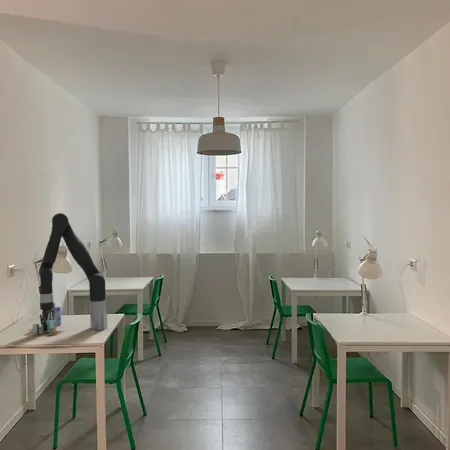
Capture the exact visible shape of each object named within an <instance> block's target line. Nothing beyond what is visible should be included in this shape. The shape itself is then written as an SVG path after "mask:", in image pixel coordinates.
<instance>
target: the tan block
mask: <svg viewBox="0 0 450 450" xmlns="http://www.w3.org/2000/svg"><path fill="white" fill-rule="evenodd" d="M57 331H58V330H57V327H51V328H50V335H56V334H57Z"/></svg>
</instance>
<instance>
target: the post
mask: <svg viewBox="0 0 450 450" xmlns="http://www.w3.org/2000/svg"><path fill="white" fill-rule="evenodd" d="M32 331H33V335H39V331H40V324H39V323H34V324H32Z"/></svg>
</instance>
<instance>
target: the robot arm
mask: <svg viewBox="0 0 450 450" xmlns="http://www.w3.org/2000/svg"><path fill="white" fill-rule="evenodd" d="M51 224H52V225H51V232H50V236H49V239H48V241H47V244H46V247H45V250H44V254H43V258H42V261H41V263H40V267H39V269H38V276H39V279H40V280H39V281H40V284H39V309H40V310H41V312H42V310H43V312H42V313H41V314H39V320H40V325H41V324H43V331H47V330H48V329H47V322H48V320H54V310H52V309H53V308H54V291H53V290H54V289H53V278H54V277H53V271H52V270H53V267H54V264H55V262H56V261H57V256H58V252H59V249H60V245H61V240H62V239H63V241H64V243H65V246H66V248H67V250H68V251H69V253H70V256H71V257H72V258H73V260H74V261H75V262H76V263H77V265H78V266H79V267H80V268H81V269H82V271H83V273H84V274H85V276H86V278H87V280H88V284H89V285H88V286H89V287H88V288H89V317H90V319H89V322H90V324H89V326H90V330H94V331H101V330H102V331H104V330H105V329H106V330H107V328H108V311H107V307H106V306H107V305H106V301H107V300H106V295H107V294H106V279H105V277H104V275H103V274H102V273H101V272H100V270H99V269H98V268H97V266H96V265H95V263H94V262H93V259H92V257H91V255H90V252H89V251H88V249H87V247H86V245H85V244H84V242H83V241H82V240H81V239H80V237H79V236H78V235H77V234H76V233H75V232H74V230H73V228H72V226H71V224H70V221H69V217H68V216H67V215H66V214H64V213H63V212H62V213H61V212H58V213H56V214H54V215H53V216H52V218H51ZM42 321H43V322H42Z"/></svg>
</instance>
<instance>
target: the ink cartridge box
mask: <svg viewBox="0 0 450 450" xmlns="http://www.w3.org/2000/svg"><path fill="white" fill-rule="evenodd" d="M52 310H54V327H56V328H57V327H60V326H61V325H62V316H61V314H62V311H61V306H56V303H54V308H53V309H52ZM41 312H43V310H41Z"/></svg>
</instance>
